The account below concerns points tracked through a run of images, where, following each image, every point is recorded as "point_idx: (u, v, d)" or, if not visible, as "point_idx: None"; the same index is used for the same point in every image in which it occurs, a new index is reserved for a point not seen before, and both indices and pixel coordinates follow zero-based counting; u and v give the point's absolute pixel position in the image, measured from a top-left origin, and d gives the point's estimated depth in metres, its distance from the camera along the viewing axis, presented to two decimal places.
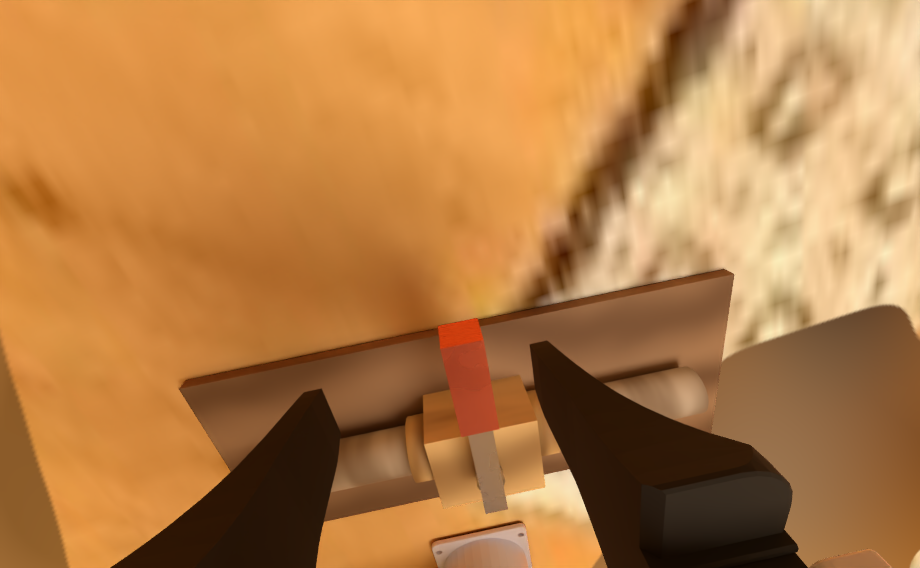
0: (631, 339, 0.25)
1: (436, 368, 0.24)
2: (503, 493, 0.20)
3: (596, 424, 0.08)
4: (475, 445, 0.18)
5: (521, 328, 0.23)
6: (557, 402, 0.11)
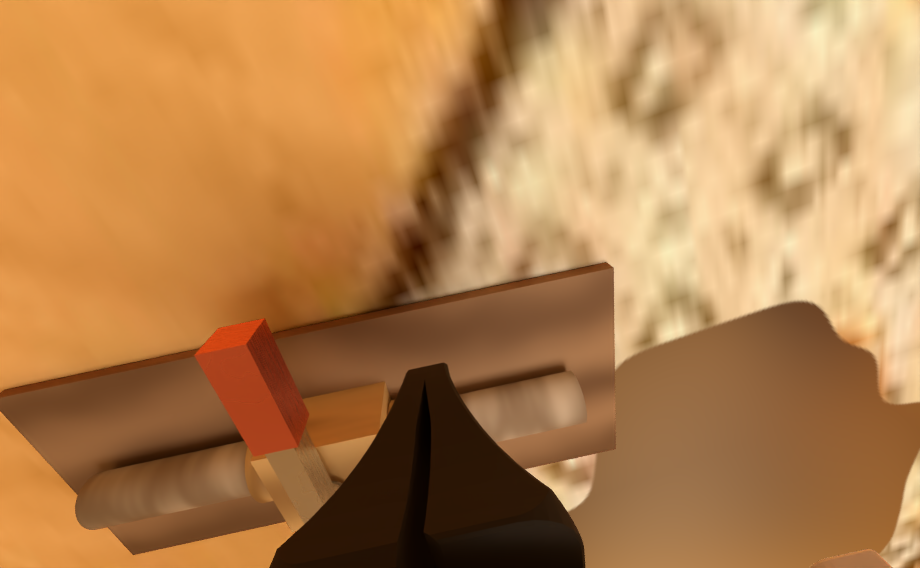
0: (506, 341, 0.22)
1: None
2: None
3: (436, 459, 0.08)
4: (277, 465, 0.16)
5: (377, 330, 0.21)
6: None
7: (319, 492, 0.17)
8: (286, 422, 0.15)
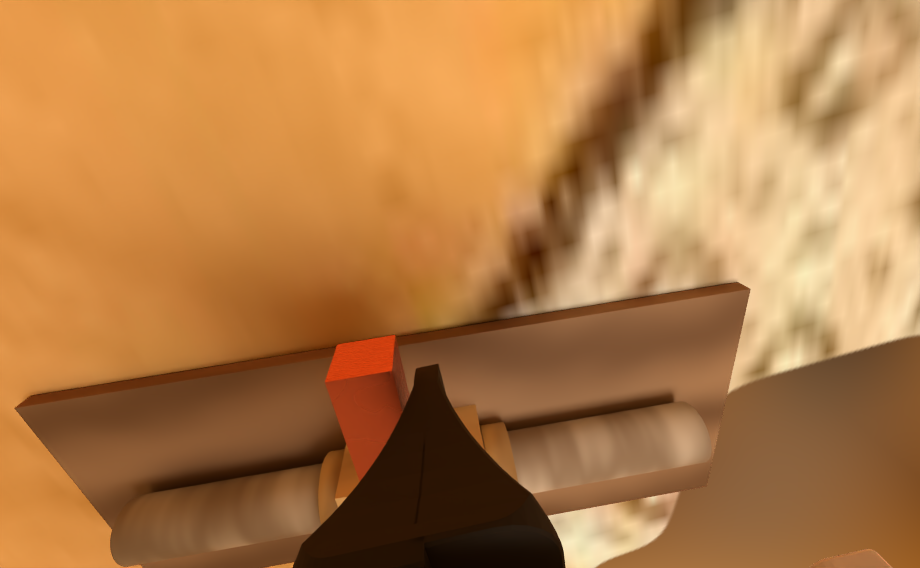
0: (617, 365, 0.20)
1: None
2: None
3: (421, 462, 0.08)
4: None
5: (478, 346, 0.18)
6: None
7: None
8: None
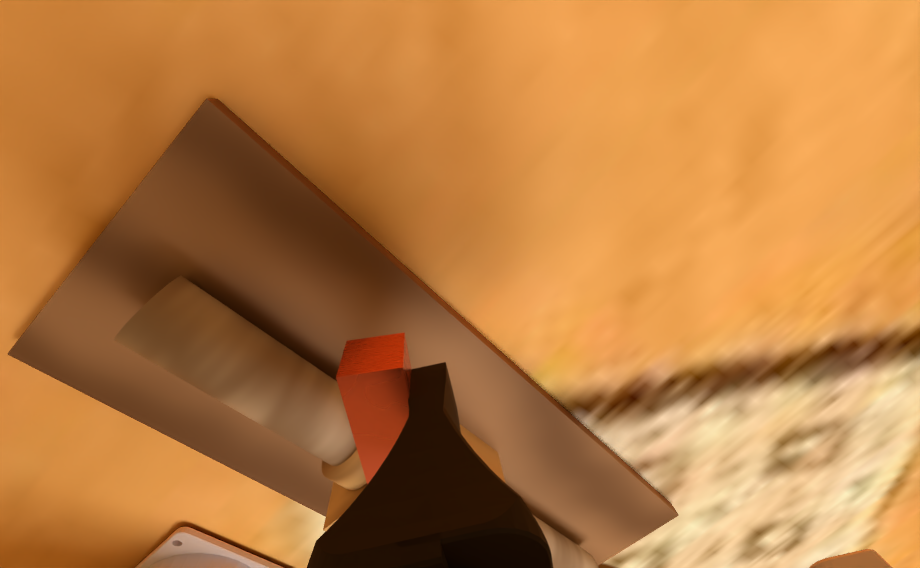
0: (586, 500, 0.24)
1: (459, 382, 0.19)
2: None
3: (411, 464, 0.08)
4: None
5: (551, 420, 0.21)
6: None
7: None
8: None
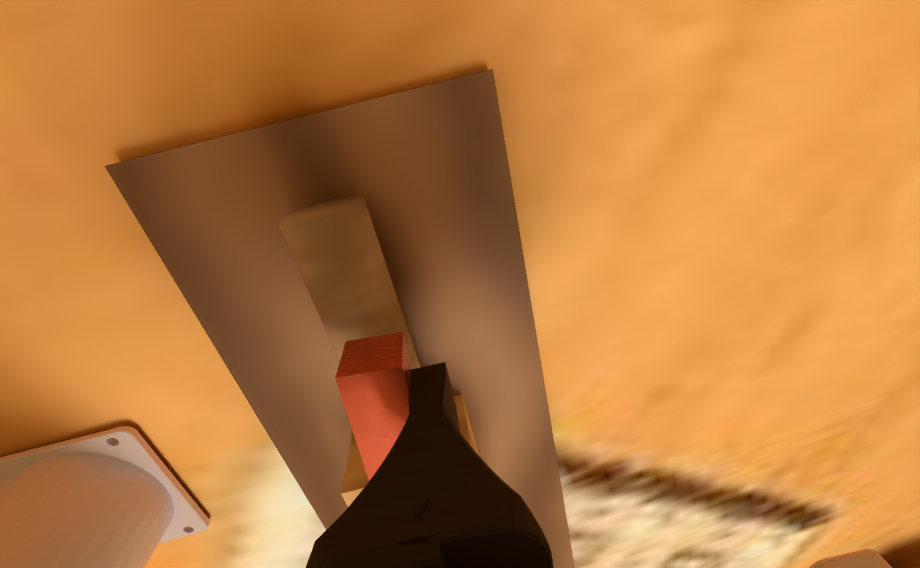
0: None
1: (501, 403, 0.20)
2: None
3: (412, 464, 0.08)
4: None
5: (545, 469, 0.22)
6: None
7: None
8: None
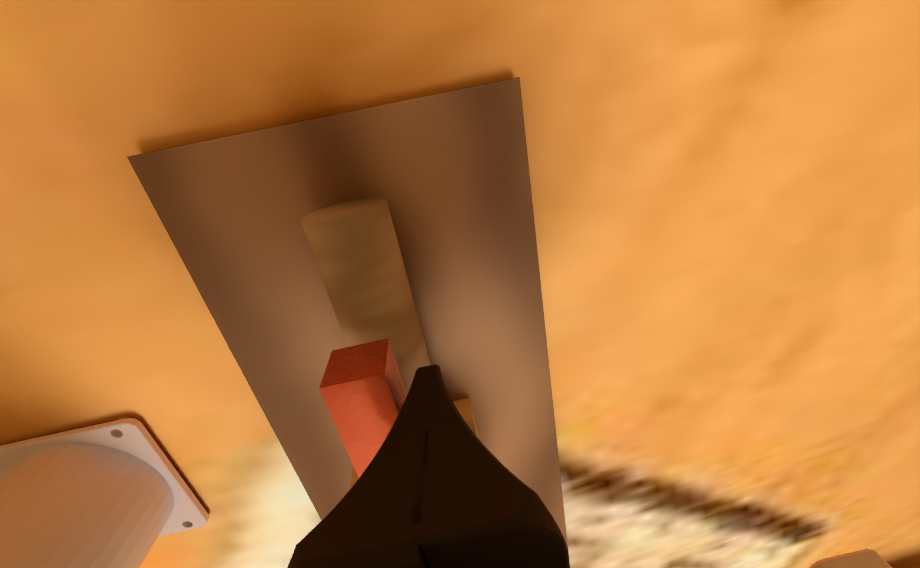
0: None
1: (508, 408, 0.20)
2: None
3: (424, 461, 0.08)
4: None
5: (547, 475, 0.23)
6: None
7: None
8: None
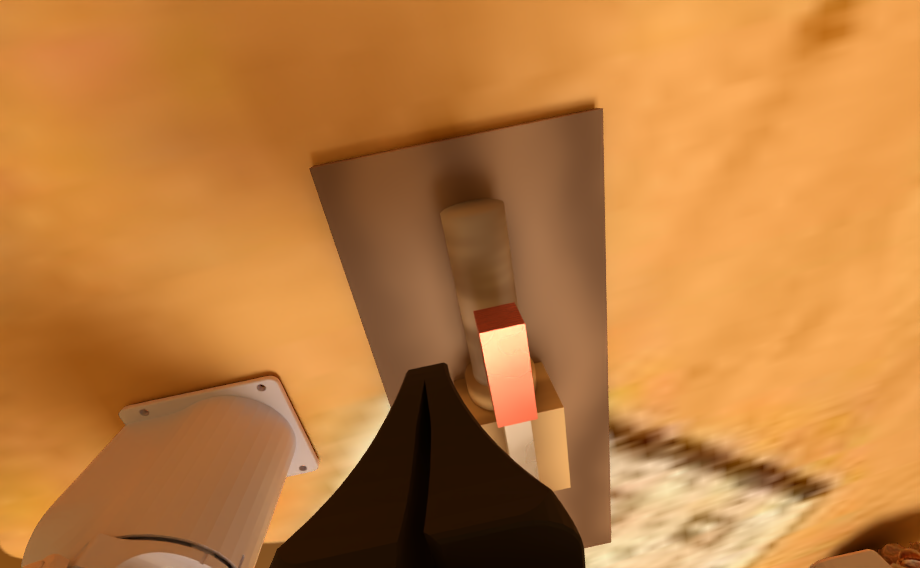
0: (569, 502, 0.30)
1: (571, 371, 0.24)
2: None
3: (436, 459, 0.08)
4: (511, 437, 0.18)
5: (598, 430, 0.27)
6: None
7: None
8: (533, 396, 0.17)
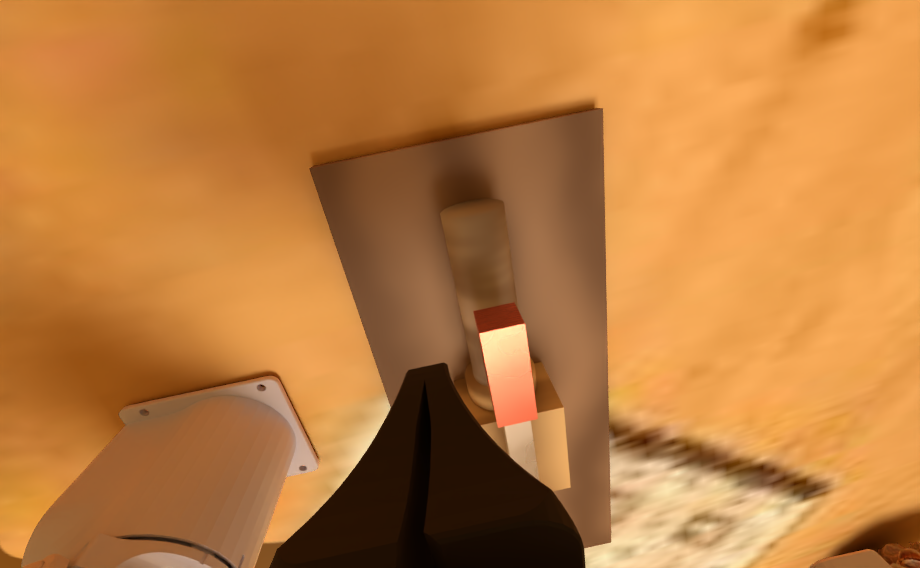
0: (569, 502, 0.30)
1: (571, 371, 0.24)
2: None
3: (436, 459, 0.08)
4: (511, 437, 0.18)
5: (598, 430, 0.27)
6: None
7: None
8: (533, 396, 0.17)
